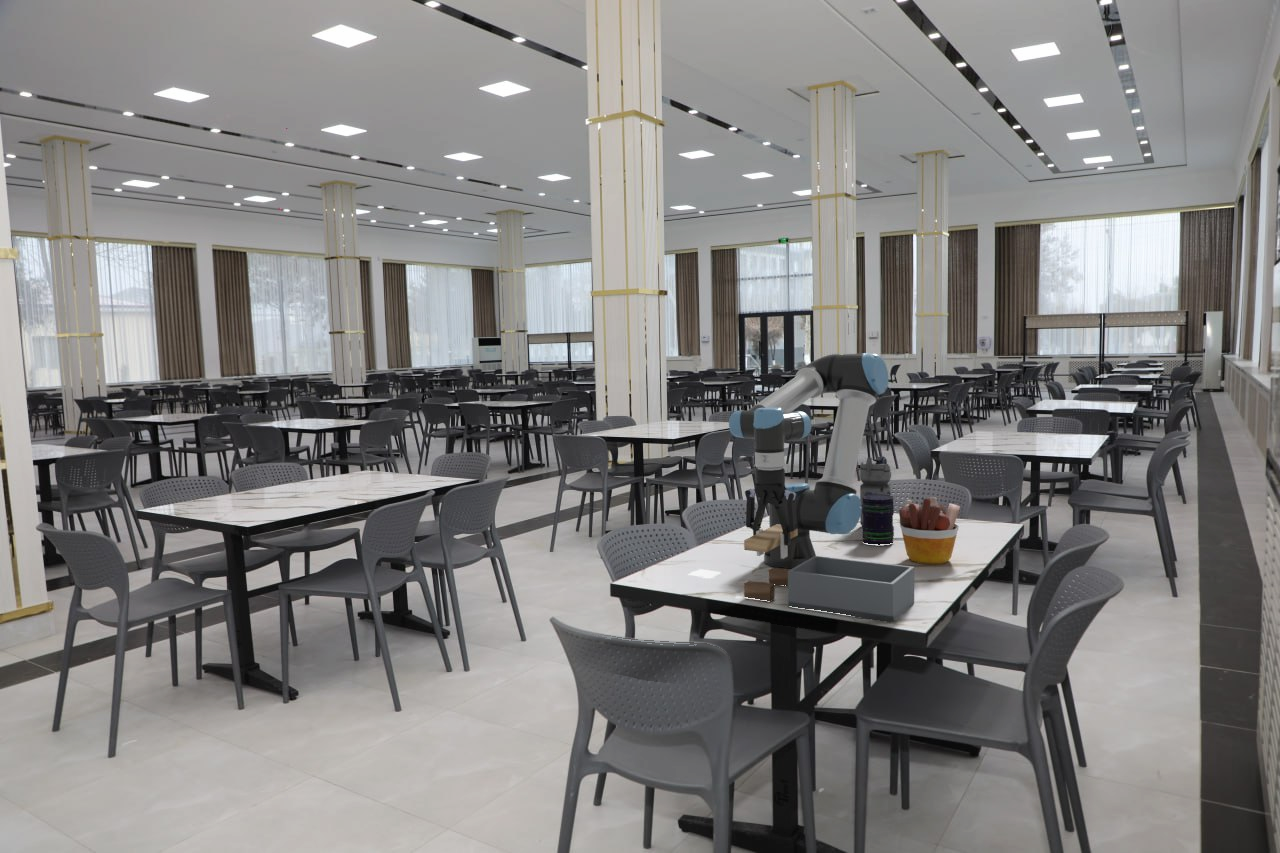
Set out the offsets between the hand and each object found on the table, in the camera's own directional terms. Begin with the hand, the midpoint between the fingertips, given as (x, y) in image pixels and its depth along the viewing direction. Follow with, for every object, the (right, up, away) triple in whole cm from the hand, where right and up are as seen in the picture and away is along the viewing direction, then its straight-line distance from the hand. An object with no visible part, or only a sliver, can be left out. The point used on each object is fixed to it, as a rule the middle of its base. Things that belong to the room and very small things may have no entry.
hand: (772, 555), depth 224 cm
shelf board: (0, +4, 0) cm, 4 cm away
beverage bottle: (+48, -2, +77) cm, 91 cm away
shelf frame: (+17, -10, -13) cm, 24 cm away
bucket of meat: (+50, -6, +29) cm, 58 cm away
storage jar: (+42, -4, +53) cm, 68 cm away
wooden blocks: (0, -9, 0) cm, 9 cm away
